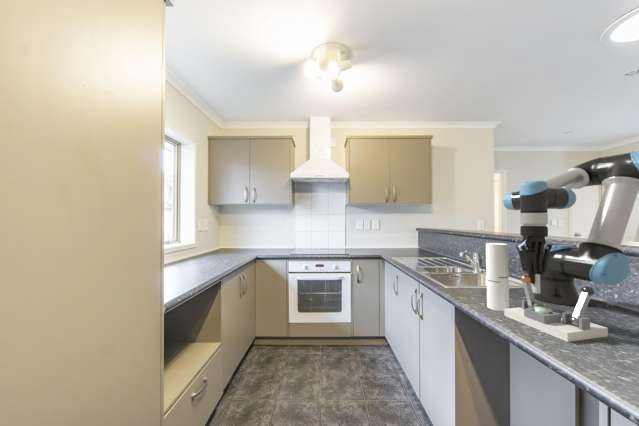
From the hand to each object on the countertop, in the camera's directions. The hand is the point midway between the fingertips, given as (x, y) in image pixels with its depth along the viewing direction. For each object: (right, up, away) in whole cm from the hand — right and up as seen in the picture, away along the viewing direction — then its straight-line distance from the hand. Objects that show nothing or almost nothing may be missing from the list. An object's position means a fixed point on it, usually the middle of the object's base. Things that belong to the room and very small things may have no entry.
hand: (534, 292), depth 91 cm
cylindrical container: (-6, -9, +10) cm, 15 cm away
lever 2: (+1, -6, -13) cm, 14 cm away
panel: (0, -9, -6) cm, 11 cm away
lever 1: (-1, -6, 0) cm, 6 cm away
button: (-4, -6, -7) cm, 10 cm away
